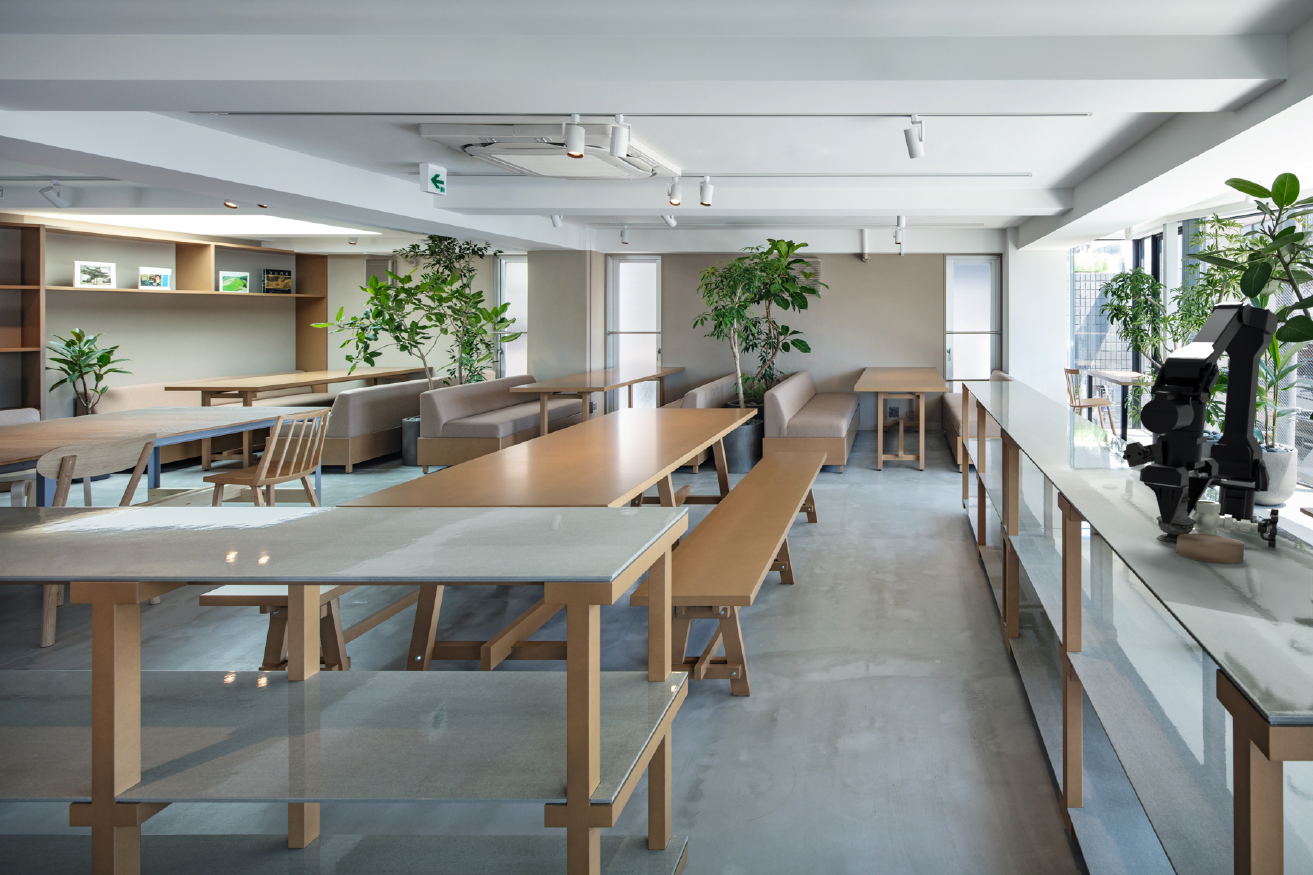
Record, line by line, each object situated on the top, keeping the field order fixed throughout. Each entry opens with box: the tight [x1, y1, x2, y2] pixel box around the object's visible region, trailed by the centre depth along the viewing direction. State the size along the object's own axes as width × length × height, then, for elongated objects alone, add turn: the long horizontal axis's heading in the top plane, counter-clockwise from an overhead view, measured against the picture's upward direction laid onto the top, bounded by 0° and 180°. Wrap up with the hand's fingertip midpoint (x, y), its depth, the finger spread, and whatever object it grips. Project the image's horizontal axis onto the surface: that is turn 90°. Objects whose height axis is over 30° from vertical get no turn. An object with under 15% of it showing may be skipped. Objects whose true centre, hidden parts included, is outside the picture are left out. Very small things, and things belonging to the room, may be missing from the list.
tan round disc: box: [1175, 533, 1245, 565], centre depth 134 cm, size 9×9×2 cm
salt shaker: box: [1155, 481, 1196, 544], centre depth 144 cm, size 6×6×12 cm
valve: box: [1191, 499, 1280, 549], centre depth 143 cm, size 7×7×12 cm
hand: (1175, 519), depth 144 cm, fingers closed on salt shaker, 8 cm apart
